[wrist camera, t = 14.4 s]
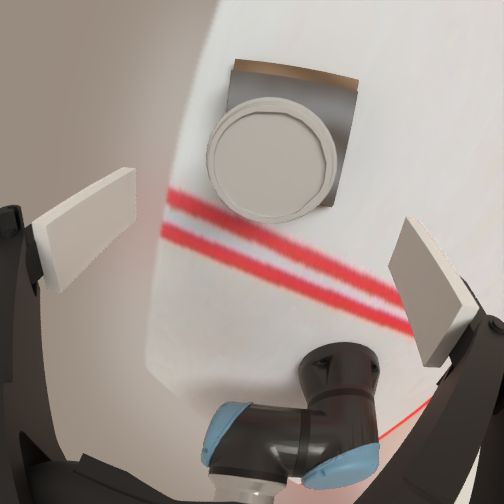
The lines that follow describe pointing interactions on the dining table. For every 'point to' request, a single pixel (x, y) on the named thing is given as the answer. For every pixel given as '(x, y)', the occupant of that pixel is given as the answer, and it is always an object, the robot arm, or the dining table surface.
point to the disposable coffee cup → (271, 160)
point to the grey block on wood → (301, 98)
